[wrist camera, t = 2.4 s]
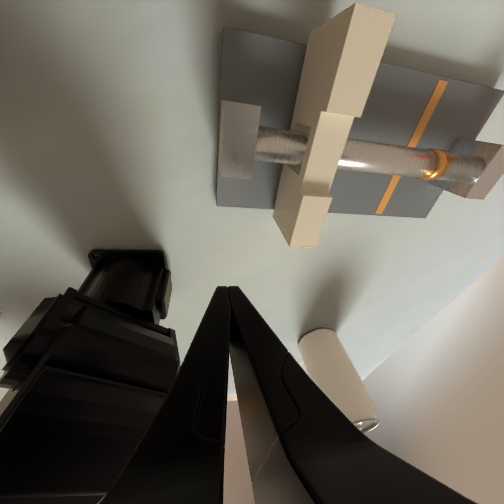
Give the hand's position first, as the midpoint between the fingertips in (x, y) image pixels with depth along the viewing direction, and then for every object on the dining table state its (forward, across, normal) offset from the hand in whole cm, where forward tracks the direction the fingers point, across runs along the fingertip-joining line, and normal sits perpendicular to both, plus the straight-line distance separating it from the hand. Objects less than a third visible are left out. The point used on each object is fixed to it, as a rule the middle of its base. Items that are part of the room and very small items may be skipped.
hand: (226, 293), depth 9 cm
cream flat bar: (+11, -6, -4) cm, 13 cm away
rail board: (+12, -11, -4) cm, 17 cm away
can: (+13, -17, +24) cm, 32 cm away
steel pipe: (+11, -11, -4) cm, 17 cm away
